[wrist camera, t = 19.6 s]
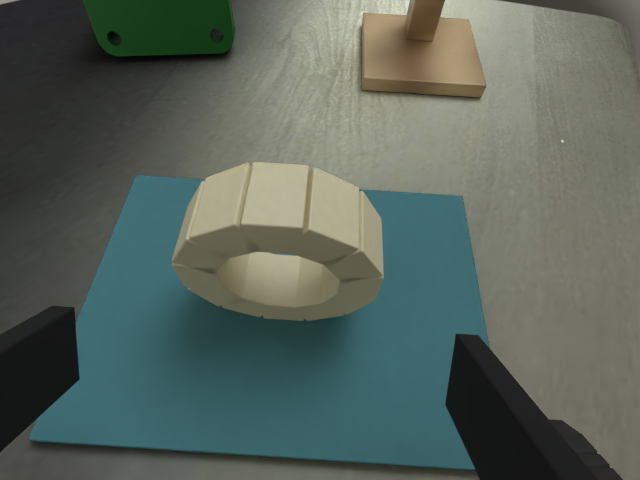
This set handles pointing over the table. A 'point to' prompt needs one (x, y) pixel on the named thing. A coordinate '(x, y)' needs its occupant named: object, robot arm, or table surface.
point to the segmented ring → (281, 243)
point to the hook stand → (420, 53)
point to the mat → (273, 349)
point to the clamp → (161, 26)
